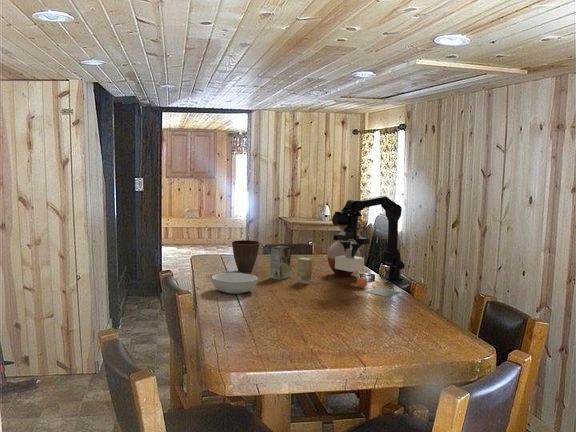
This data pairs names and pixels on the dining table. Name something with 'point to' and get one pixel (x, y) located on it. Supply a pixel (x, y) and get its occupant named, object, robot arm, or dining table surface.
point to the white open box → (349, 262)
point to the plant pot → (245, 254)
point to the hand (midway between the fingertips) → (350, 256)
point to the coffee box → (280, 262)
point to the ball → (361, 282)
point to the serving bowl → (234, 282)
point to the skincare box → (304, 270)
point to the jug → (339, 250)
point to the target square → (382, 292)
